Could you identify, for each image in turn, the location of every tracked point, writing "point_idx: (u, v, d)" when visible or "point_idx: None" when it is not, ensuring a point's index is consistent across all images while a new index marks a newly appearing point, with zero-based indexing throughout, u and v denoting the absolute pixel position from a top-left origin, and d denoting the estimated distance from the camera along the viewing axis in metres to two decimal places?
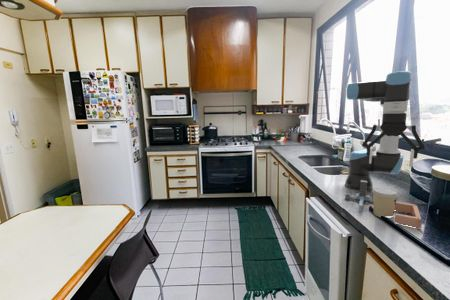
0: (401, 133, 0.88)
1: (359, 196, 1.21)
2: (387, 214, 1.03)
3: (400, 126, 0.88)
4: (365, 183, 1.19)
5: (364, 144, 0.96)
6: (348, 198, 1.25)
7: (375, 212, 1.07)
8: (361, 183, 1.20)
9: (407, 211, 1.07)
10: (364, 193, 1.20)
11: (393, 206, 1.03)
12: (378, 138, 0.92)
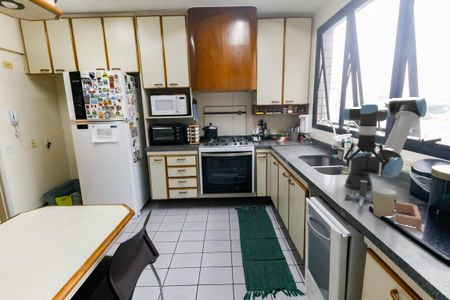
0: (372, 150, 1.14)
1: (359, 196, 1.21)
2: (387, 214, 1.03)
3: (371, 145, 1.14)
4: (365, 183, 1.19)
5: (344, 157, 1.22)
6: (348, 198, 1.25)
7: (375, 212, 1.07)
8: (361, 183, 1.20)
9: (407, 211, 1.07)
10: (364, 193, 1.20)
11: (393, 206, 1.03)
12: (355, 153, 1.19)
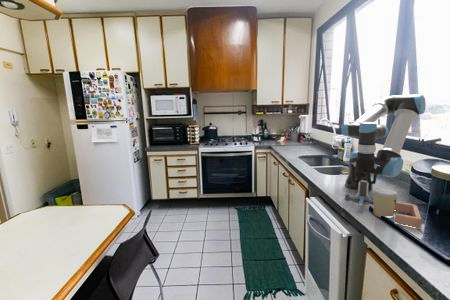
0: (368, 169, 1.17)
1: (359, 196, 1.21)
2: (387, 214, 1.03)
3: (370, 162, 1.16)
4: (365, 183, 1.19)
5: (353, 179, 1.22)
6: (348, 198, 1.25)
7: (375, 212, 1.07)
8: (361, 183, 1.20)
9: (407, 211, 1.07)
10: (364, 193, 1.20)
11: (393, 206, 1.03)
12: (359, 173, 1.20)
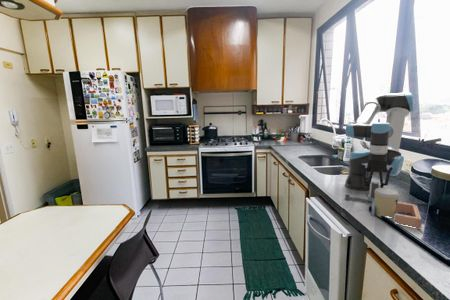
0: (380, 170, 1.14)
1: (370, 198, 1.19)
2: (388, 214, 1.03)
3: (383, 163, 1.13)
4: (377, 185, 1.16)
5: (365, 181, 1.19)
6: (348, 198, 1.25)
7: (376, 212, 1.07)
8: (373, 185, 1.17)
9: (407, 211, 1.07)
10: None
11: (394, 206, 1.02)
12: (371, 174, 1.17)
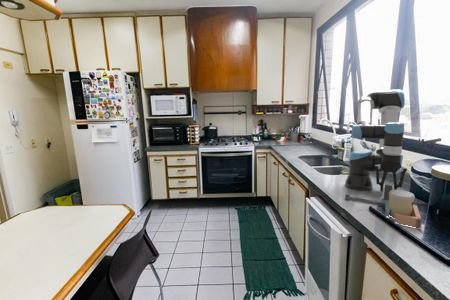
0: (394, 171, 1.10)
1: (383, 200, 1.15)
2: None
3: (397, 164, 1.10)
4: (390, 186, 1.13)
5: (378, 182, 1.16)
6: (348, 198, 1.25)
7: (391, 215, 1.04)
8: (386, 186, 1.14)
9: None
10: None
11: (410, 209, 0.99)
12: (384, 176, 1.14)
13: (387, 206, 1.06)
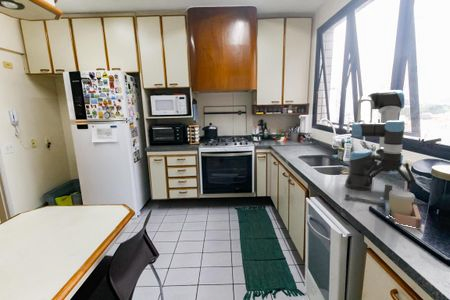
0: (397, 169, 1.10)
1: (384, 200, 1.15)
2: None
3: (396, 163, 1.10)
4: (390, 186, 1.13)
5: (367, 175, 1.18)
6: (348, 198, 1.25)
7: (391, 215, 1.04)
8: (386, 186, 1.14)
9: None
10: None
11: (410, 209, 0.99)
12: (379, 171, 1.15)
13: (387, 206, 1.06)
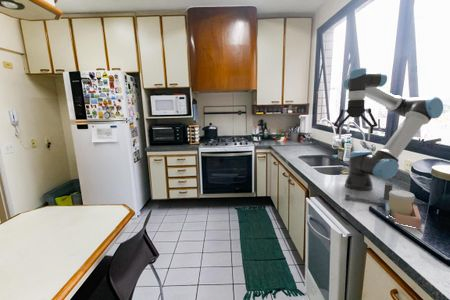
0: (361, 114, 1.16)
1: (384, 200, 1.15)
2: None
3: (360, 109, 1.17)
4: (390, 186, 1.13)
5: (335, 124, 1.24)
6: (348, 198, 1.25)
7: (391, 215, 1.04)
8: (386, 186, 1.14)
9: None
10: None
11: (410, 209, 0.99)
12: (345, 119, 1.21)
13: (387, 206, 1.06)
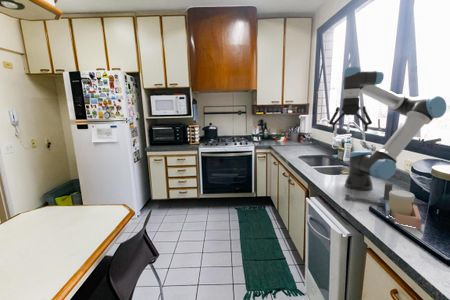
0: (355, 112, 1.18)
1: (384, 200, 1.15)
2: None
3: (355, 107, 1.18)
4: (390, 186, 1.13)
5: (330, 122, 1.26)
6: (348, 198, 1.25)
7: (391, 215, 1.04)
8: (386, 186, 1.14)
9: None
10: None
11: (410, 209, 0.99)
12: (340, 117, 1.23)
13: (387, 206, 1.06)
